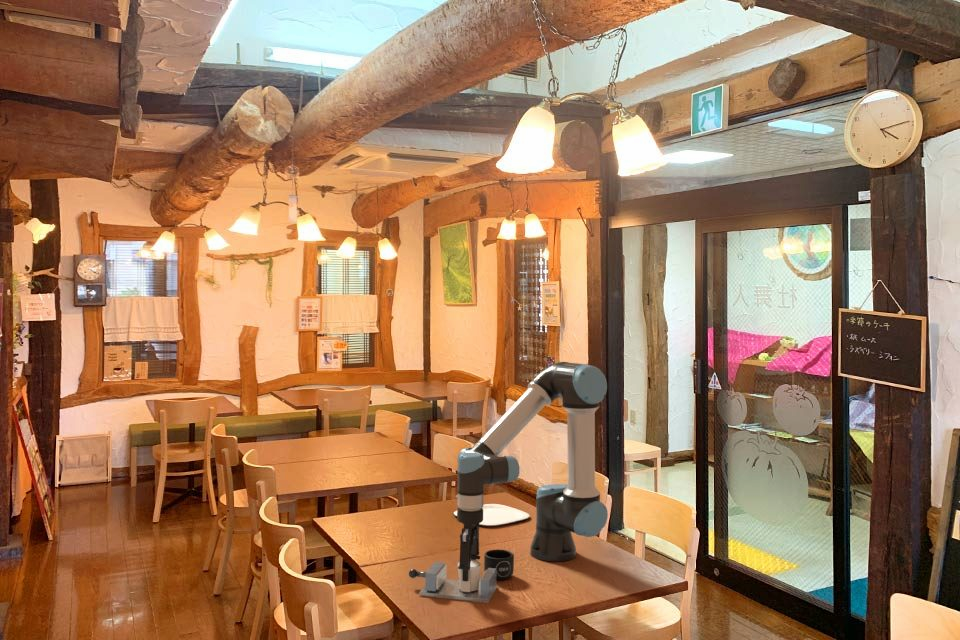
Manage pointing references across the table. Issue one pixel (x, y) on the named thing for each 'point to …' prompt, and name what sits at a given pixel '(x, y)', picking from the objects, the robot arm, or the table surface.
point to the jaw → (432, 576)
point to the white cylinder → (472, 574)
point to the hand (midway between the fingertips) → (469, 586)
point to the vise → (453, 591)
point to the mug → (500, 563)
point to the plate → (500, 515)
